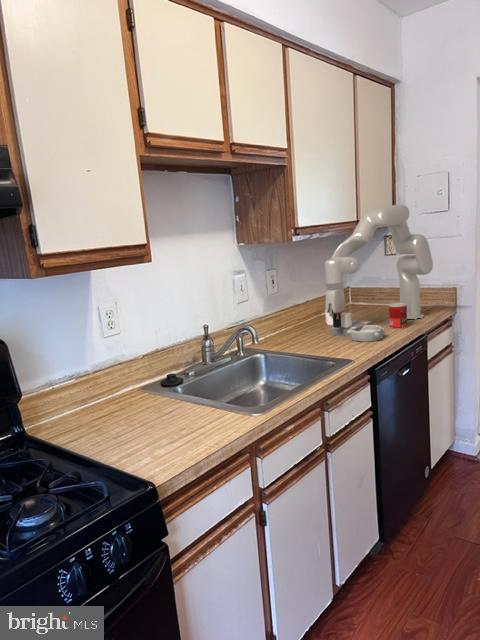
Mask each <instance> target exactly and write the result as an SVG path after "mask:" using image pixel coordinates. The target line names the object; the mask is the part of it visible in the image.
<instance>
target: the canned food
mask: <svg viewBox="0 0 480 640" xmlns="http://www.w3.org/2000/svg"><path fill="white" fill-rule="evenodd" d="M388 313H389V315H388V317H389V320H388V321H389V327H390V328H391V327H393V328H392V329H395V328H401V329H403V328H402V327H406V326H407V327H408V320H407V305H406V303H400V302H391V303H389V304H388ZM407 327H406V328H407Z"/></svg>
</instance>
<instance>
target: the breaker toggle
mask: <svg viewBox="0 0 480 640" xmlns="http://www.w3.org/2000/svg"><path fill="white" fill-rule="evenodd" d="M351 320H352V313H351V312H343V313H342V314H341V327H346V328H348V327H350V326H352V323H351Z"/></svg>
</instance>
